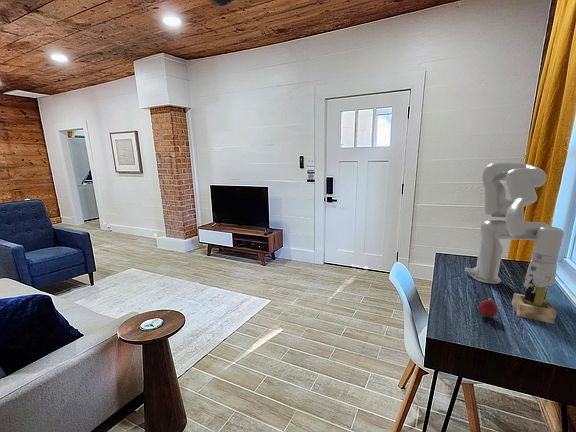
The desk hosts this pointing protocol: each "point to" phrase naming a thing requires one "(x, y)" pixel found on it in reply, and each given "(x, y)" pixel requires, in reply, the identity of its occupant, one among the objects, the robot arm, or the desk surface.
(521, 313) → the wooden box
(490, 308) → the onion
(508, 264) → the desk surface
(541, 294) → the vase
